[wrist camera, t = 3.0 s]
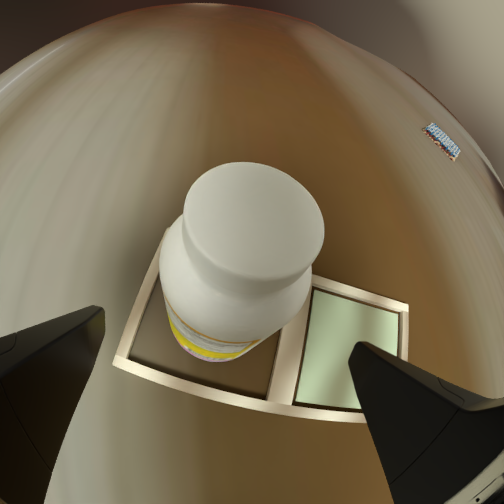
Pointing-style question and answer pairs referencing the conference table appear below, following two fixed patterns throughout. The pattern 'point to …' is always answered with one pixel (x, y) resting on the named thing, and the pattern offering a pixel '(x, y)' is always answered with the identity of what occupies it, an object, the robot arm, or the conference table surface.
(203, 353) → the supplement bottle
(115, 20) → the conference table surface
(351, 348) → the silver picture frame
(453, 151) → the woven mat
